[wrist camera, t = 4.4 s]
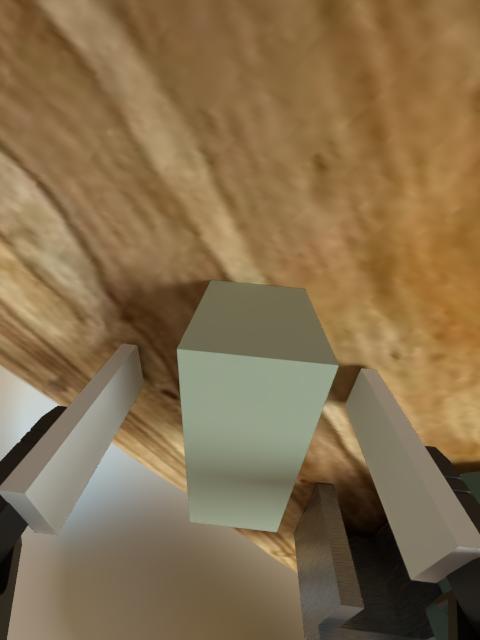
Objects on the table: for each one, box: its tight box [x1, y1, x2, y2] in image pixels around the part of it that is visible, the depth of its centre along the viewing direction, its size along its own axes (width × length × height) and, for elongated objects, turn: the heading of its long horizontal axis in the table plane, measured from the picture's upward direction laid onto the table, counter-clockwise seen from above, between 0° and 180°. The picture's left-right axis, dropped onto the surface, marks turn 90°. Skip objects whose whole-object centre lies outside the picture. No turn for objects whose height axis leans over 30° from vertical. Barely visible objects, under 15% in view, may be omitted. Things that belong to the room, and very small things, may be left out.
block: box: [177, 280, 339, 532], centre depth 10 cm, size 10×4×5 cm, turn 176°
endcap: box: [294, 483, 443, 640], centre depth 17 cm, size 9×8×7 cm
